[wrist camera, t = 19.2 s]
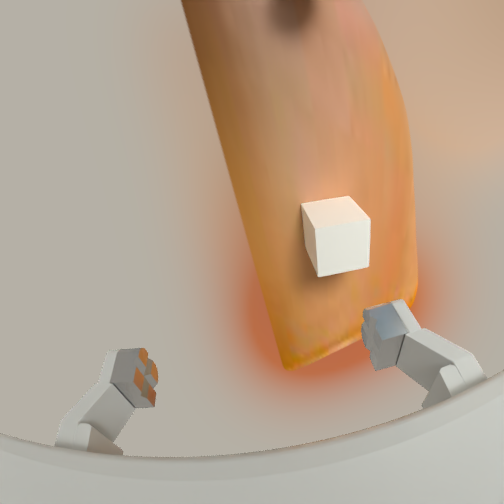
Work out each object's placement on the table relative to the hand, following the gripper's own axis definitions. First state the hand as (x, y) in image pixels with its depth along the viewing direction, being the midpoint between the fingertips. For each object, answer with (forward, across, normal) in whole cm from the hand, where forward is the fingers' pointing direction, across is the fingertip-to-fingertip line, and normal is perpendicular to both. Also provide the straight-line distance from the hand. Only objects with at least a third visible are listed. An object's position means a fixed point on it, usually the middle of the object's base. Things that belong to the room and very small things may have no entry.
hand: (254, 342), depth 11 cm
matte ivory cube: (+30, -11, +13) cm, 35 cm away
